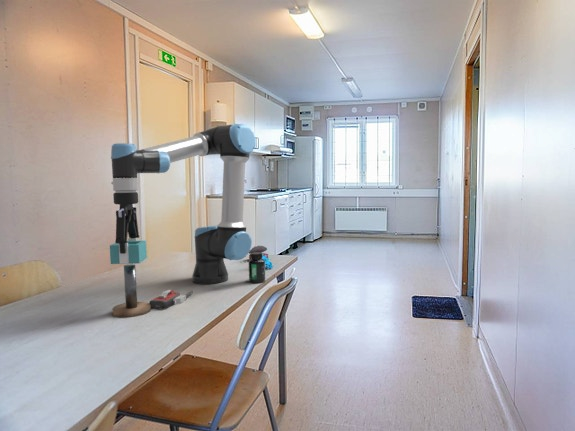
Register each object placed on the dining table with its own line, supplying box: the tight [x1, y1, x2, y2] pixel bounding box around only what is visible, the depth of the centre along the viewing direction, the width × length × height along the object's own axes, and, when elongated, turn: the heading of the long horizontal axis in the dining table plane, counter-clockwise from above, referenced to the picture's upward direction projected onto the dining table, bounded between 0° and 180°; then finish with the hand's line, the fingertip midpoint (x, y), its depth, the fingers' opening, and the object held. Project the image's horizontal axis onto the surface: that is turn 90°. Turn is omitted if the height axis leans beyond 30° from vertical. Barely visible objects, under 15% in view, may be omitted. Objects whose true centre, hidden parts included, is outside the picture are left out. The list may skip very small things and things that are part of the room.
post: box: [123, 264, 138, 309], centre depth 146 cm, size 4×4×14 cm
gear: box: [261, 252, 274, 270], centre depth 211 cm, size 11×6×10 cm
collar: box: [109, 240, 148, 265], centre depth 145 cm, size 9×9×6 cm
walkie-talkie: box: [148, 289, 194, 310], centre depth 158 cm, size 9×4×20 cm
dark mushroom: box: [248, 245, 269, 260], centre depth 229 cm, size 11×10×10 cm
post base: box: [111, 301, 152, 318], centre depth 147 cm, size 12×12×2 cm
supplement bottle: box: [248, 252, 266, 284], centre depth 184 cm, size 7×7×12 cm
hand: (128, 260), depth 145 cm, fingers closed on collar, 9 cm apart
